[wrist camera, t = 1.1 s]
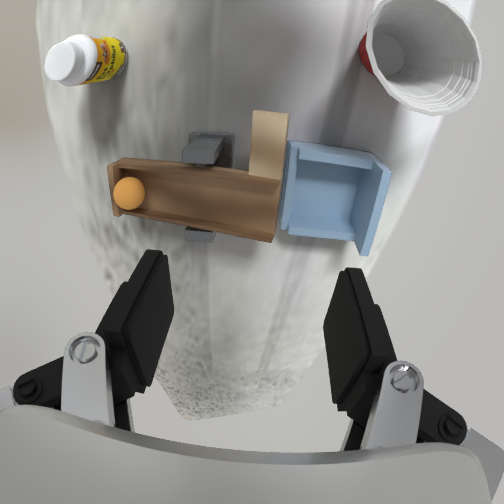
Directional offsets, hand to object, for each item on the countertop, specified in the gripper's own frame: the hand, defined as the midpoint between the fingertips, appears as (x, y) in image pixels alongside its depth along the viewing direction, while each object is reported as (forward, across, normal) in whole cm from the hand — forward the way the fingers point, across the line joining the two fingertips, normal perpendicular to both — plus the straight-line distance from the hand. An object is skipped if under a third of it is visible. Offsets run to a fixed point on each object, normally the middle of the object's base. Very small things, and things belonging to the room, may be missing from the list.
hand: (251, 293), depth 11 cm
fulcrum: (+26, +6, +5) cm, 27 cm away
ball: (+19, +14, +5) cm, 24 cm away
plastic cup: (+26, -12, -12) cm, 31 cm away
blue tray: (+26, -8, +5) cm, 27 cm away
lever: (+20, +7, +2) cm, 22 cm away
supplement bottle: (+26, +19, -10) cm, 34 cm away
